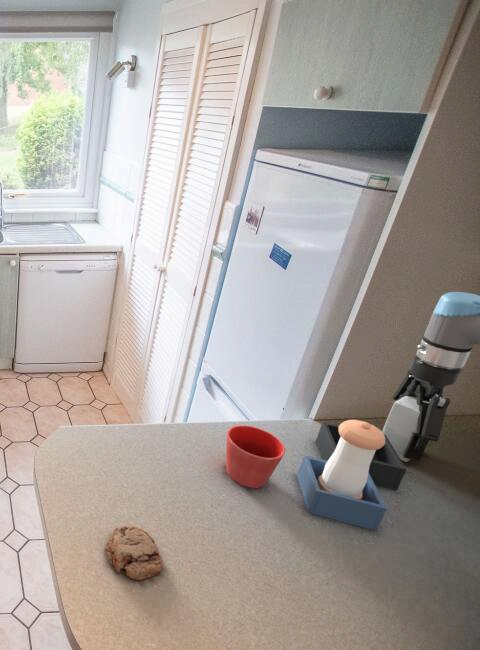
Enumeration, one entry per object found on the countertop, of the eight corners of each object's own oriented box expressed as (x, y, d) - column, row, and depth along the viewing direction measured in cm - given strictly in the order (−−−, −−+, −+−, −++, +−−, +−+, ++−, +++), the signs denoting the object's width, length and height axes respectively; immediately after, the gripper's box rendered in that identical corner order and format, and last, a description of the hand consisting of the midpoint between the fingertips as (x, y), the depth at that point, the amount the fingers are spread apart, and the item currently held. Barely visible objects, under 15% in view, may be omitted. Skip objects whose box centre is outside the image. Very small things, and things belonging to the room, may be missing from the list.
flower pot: (225, 489, 97) (236, 453, 93) (213, 455, 107) (222, 421, 103) (281, 498, 95) (294, 462, 91) (263, 462, 105) (274, 428, 101)
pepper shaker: (327, 481, 98) (357, 408, 90) (365, 506, 92) (400, 429, 84) (305, 491, 95) (333, 416, 88) (342, 517, 89) (376, 439, 82)
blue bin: (358, 491, 97) (367, 469, 94) (376, 531, 87) (387, 508, 85) (296, 475, 101) (304, 455, 98) (307, 512, 91) (316, 490, 89)
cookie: (155, 534, 87) (157, 523, 86) (166, 586, 77) (169, 574, 76) (101, 527, 89) (103, 516, 87) (106, 577, 79) (108, 565, 78)
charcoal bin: (377, 454, 107) (385, 435, 104) (396, 490, 97) (406, 469, 94) (315, 441, 111) (322, 422, 109) (328, 474, 101) (336, 453, 99)
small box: (407, 463, 104) (428, 416, 98) (374, 446, 109) (393, 401, 104) (424, 452, 107) (446, 406, 102) (391, 436, 112) (411, 392, 107)
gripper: (396, 337, 109) (366, 413, 118) (439, 383, 90) (400, 470, 99) (437, 343, 106) (403, 420, 115) (490, 392, 88) (445, 480, 96)
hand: (401, 443), depth 107 cm, fingers closed on small box, 10 cm apart
